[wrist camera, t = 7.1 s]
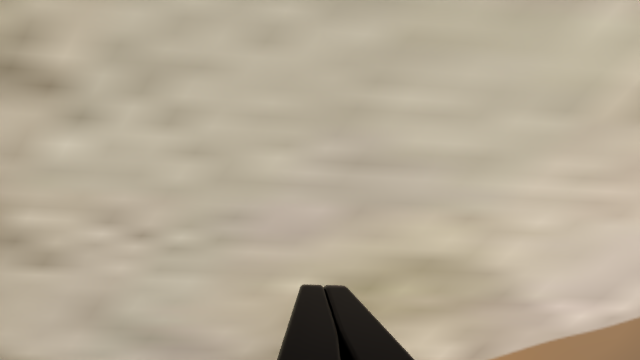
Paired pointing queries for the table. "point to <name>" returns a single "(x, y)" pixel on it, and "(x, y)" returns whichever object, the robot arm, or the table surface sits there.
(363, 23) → the table surface
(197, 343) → the table surface
